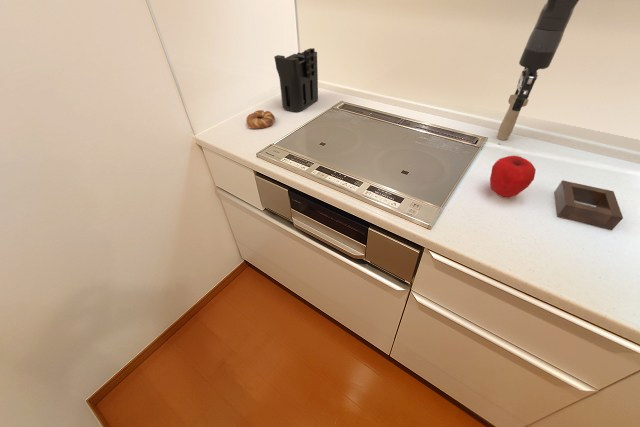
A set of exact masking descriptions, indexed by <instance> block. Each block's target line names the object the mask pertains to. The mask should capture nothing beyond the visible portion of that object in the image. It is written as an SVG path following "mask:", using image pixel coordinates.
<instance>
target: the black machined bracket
mask: <svg viewBox="0 0 640 427" xmlns="http://www.w3.org/2000/svg"><path fill="white" fill-rule="evenodd" d="M315 49H316V48H314V47H313V48H312V47H311V48H308V49H307V48H306V49H305V50H304V51H302V52H297V53H293V54H291V55H289V56H286V57H285V55H281V54H276V55H274V56H273V58H274V63H275V69H276V72H277V74H278V78H279V86H280V87H279V88H280V96H281V105H282V109H283V110H285V111H289V112H292V113H293V112H295V113H299V112H302V111H303V110H305V109H306V108H308V107H309V106H311V105H312V104H314V103H316V102H318V101H319V87H318V86H319V72H318V71H319V70H318V51H316V50H315Z"/></svg>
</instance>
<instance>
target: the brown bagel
mask: <svg viewBox="0 0 640 427" xmlns="http://www.w3.org/2000/svg"><path fill="white" fill-rule="evenodd" d="M245 120H246V121H245V122H246V125H247V127H248V128H249V129H252V130H257V129H265V128H267V127H271V126H272V125H273V124H274V123H275V121H276V116H275V115H274V114H273V113H272V112H271V111H269V110H265V111H264V110H263V109H260V110H259V109H258V110H255V111H253V112H252V113H250V114H248V115H247V116H246V119H245Z"/></svg>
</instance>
